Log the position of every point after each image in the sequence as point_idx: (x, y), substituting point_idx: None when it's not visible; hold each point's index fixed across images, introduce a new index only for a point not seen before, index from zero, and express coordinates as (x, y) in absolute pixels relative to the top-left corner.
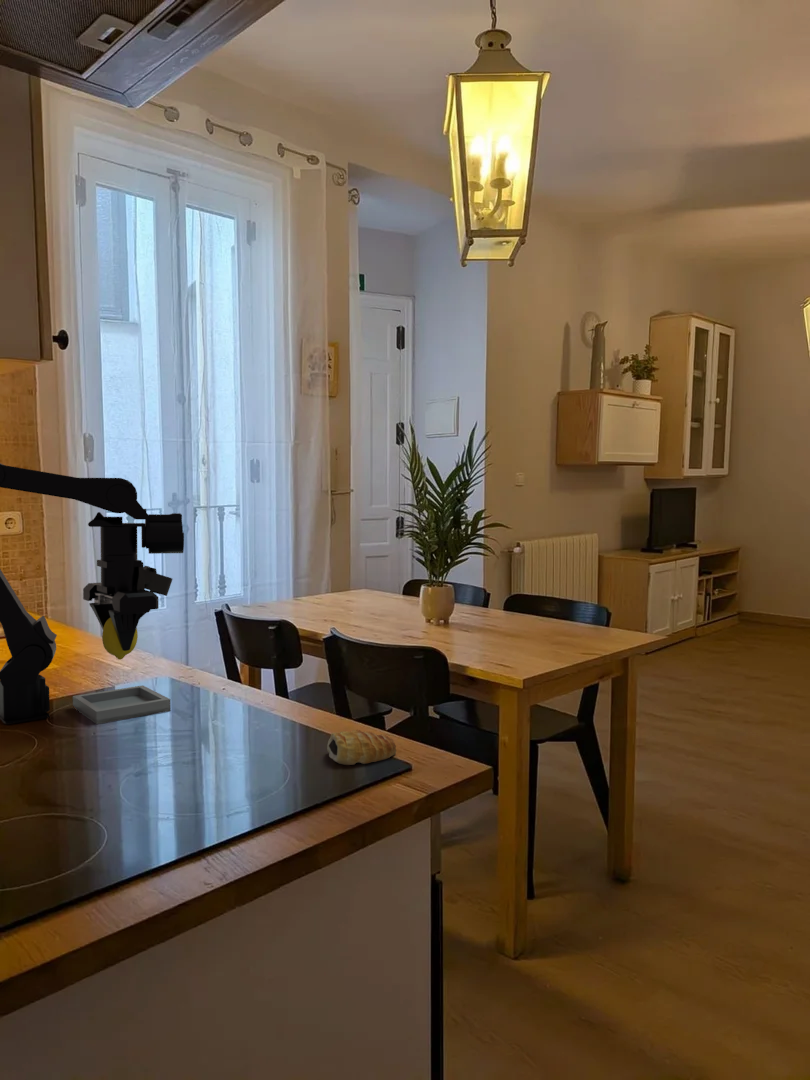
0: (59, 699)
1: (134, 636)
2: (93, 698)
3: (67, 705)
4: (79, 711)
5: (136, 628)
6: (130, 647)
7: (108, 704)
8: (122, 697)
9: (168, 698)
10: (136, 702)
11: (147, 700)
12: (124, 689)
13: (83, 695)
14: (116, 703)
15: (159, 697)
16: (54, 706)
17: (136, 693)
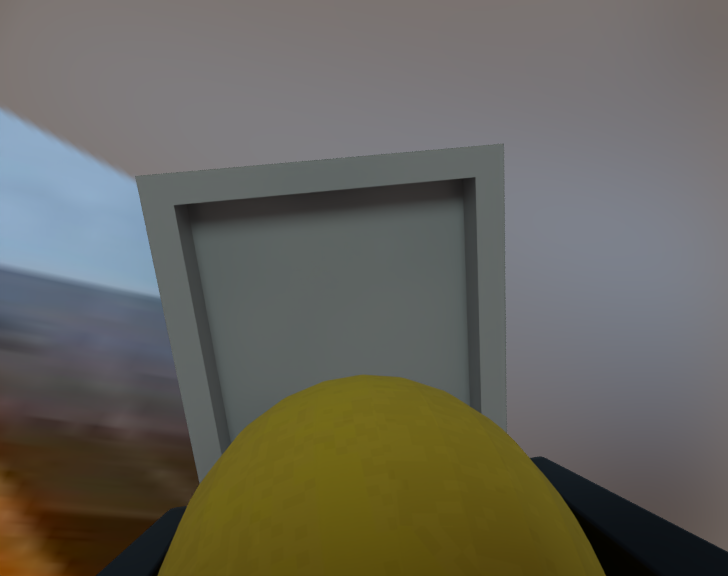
0: (41, 490)
1: (546, 479)
2: (220, 413)
3: (162, 476)
4: None
5: (489, 501)
6: (554, 463)
7: (289, 360)
8: (201, 285)
9: (484, 147)
10: (318, 252)
11: (310, 199)
12: (187, 284)
13: (215, 461)
14: (289, 329)
15: (440, 179)
16: (154, 516)
17: (187, 219)
